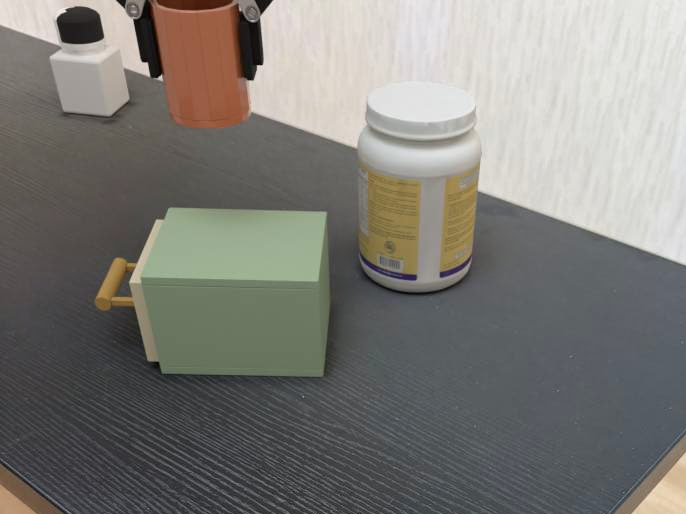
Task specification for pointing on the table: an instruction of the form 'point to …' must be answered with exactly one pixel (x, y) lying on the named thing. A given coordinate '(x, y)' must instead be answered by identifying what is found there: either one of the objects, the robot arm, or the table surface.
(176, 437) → the table surface
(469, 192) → the supplement tub
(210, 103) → the cup
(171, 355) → the cabinet
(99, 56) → the medicine bottle
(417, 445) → the table surface
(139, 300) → the drawer
